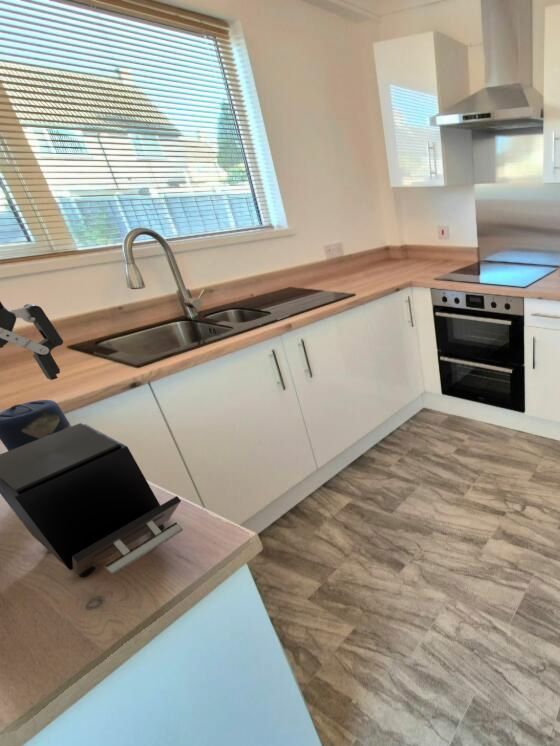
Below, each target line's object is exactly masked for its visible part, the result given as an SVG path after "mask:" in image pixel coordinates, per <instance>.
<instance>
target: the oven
mask: <svg viewBox="0 0 560 746" xmlns="http://www.w3.org/2000/svg"><path fill="white" fill-rule="evenodd" d="M0 496H1V497H2V498H3V500H4V501H5V502H6V503H7V505H8V507H10V509H11V510H12V511H13V512H14V513H15V515H16V517H18V519H19V520H20V521H21V523H22V524H23V526H24V527H25V528H26V530H27V531H28V532H29V533H30V535H31V536H32V537H33V538H35V539H36V540H37V541H38V542H39V543H40V544H41V545H42V547H44V548H45V549H46V550H47V551H48V552H49V553H50V554H52V556H54V557H55V558H56V559H57V560H58V561H59V562H60V563H61V564H62V565H63V566H64V567H65V568H66V569H67V570H68V571H73V561H72V556H73V555H75V554H77V553H78V552H80V551H82V550H84V549H85V548H87V547H89V546H91V545H92V544H94V543H96V542H98V541H99V540H101V539H103V538H105V537H106V536H108V535H110V534H112V533H113V532H115V531H117V530H119V529H120V528H122V527H124V526H125V525H127V524H129V523H131V522H132V521H134V520H136V519H138V518H139V517H141V516H143V515H145V514H146V513H148V512H150V511H152V510H153V509H155V508H157V507H159V506H160V505H161V504H160V502H159V500H158V499H157V497H156V495H155V493H154V491H153V489H152V488H151V486H150V485H149V482H148V481H147V479H146V477H145V475H144V474H143V472H142V470H141V468H140V466H139V465H138V463H137V461H136V459H135V457H134V455H133V454H132V451H131V450H130V447H128V446H127V445H126V444H124V443H122V442H120V441H118V440H116V439H115V438H113V437H111V436H109V435H107V434H105V433H103V432H101V431H99V430H98V429H95V428H94V427H92V426H90V425H89V424H87V423H85V424H84V423H82V422H79V423H77V424H74V425H71V427H69V428H66V429H64V430H61V431H59V432H56V433H54V434H51V435H48V436H46V437H43V438H41V439H38V440H36V441H33V442H30V443H28V444H25V445H23V446H20V447H18V448H15V449H13V450H10V451H8V450H7V451H5V452H3V453H0ZM158 528H159V529H160V530H161V531H163V530H164V529H165V523H163V524H162V525H160V526H159V527H158ZM149 533H150V534H153V533H152V532H151V531H150V532H149ZM95 571H96V567H95V565H94V566H92V567H91V568H89V569H87V570H86V571H84V572H83V573H81V574H79V575H78V577H79V578H82V579H83V578H86V577H89V576H90V575H92V574H93V573H94V572H95Z"/></svg>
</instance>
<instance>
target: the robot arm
mask: <svg viewBox="0 0 560 746" xmlns="http://www.w3.org/2000/svg"><path fill="white" fill-rule="evenodd" d="M17 319H22V320H23V321H24V322H25V323H26V322H27V323H28V324H29V323H30V324H33V325H34V327H35V328H36V330H37V331H38V333H39V334H40V335H41V336H42V338H43V339H42V340H41V341H39V342H36V341H34V340H31V339H29V338H27V337H25V336H22V335H19V334H17V333H16V332H13V330H14V328H15V325H16V322H17ZM8 343H12V344H14V345H16V346H19V347H21V348H23V349H26V350H29V351H30V352H33V354H32V356H33V359H34V360H35V361H36V363H37V365H38V366H39V368H40V370H41V372H42V373H43V374H44V376H45V377H46V378H47V379H48V380H50V381H53V380H56V379H59V378H58V375H59V374H61V370H60V367H59V366H58V364H57V362H56V361H55V360H56V359H54V357H53V355H52V354H51V352H52V351H53V350H54V349H55V348H57V347H58V346H59V347H60V346H62V345H63V344H64V339H63V338H62V337H61V335H60V334H59V332H58V330H57V328H55V326H54V324H53V323H52V321H51V320H50V319H49V317H48V316H47V314H46V313H45V311H44V309H43V308H42V307H41V306H40V305H35V304H32V303H27V304H24V305H23V307H19V308H16V309H12V310H9V309H8V308H6V307H5V305H4V304H3V303H2V301H1V300H0V349H3V348H4V346H6V345H7V344H8Z"/></svg>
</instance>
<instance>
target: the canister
mask: <svg viewBox="0 0 560 746" xmlns="http://www.w3.org/2000/svg"><path fill="white" fill-rule="evenodd" d="M71 426H72V424H71V422H70V421H69V420H68V418H67V417H66V415H65V414H64V412H63V410H62V408H61V407H60V405H59V404H58V403H57V402H56V401H55V400H51V399H37V400H31V401H28V402H24V403H20V404H15V405H12V406H11V407H8V408H6V409H4V410H2V411H0V441H1V443H2V444H3V446H4V447H5V448H6V449H7V451H10V450H13V449H15V448H18V447H20V446H23V445H25V444H28V443H30V442H33V441H36V440H38V439H41V438H43V437H46V436H48V435H51V434H54V433H56V432H59V431H61V430H64V429H66V428H69V427H71Z"/></svg>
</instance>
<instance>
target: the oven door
mask: <svg viewBox="0 0 560 746" xmlns="http://www.w3.org/2000/svg"><path fill="white" fill-rule="evenodd" d="M181 502H182V500H181V499H180V497H179V495H176V496H174V497H173V498H171V499H169V500H168V501H166V502H164V503H162V504H160V506H159V507H157V508H155V509H153V510H152V511H150V512H148V513H146V514H145V515H143V516H141V517H139V518H138V519H136V520H134V521H132V522H131V523H129V524H127V525H125V526H124V527H122V528H120V529H119V530H117V531H115V532H113V533H112V534H110V535H108V536H106V537H105V538H103V539H101V540H99V541H98V542H96V543H94V544H92V545H91V546H89V547H87V548H85V549H84V550H82V551H80V552H78V553H77V554H75V555H73V556H72V561H73V569H72V572H73V573H74V574H75V575H76V576H78V575H79V574H81V573H83V572H84V571H86V570H87V569H89V568H91V567H92V566H94V567H95V566H96V565H97V564H99V563H101V562H102V561H105V559H107V558H109V557H111V556H113V555H114V554H116V553H118V552H119V553H120V555H121V556H119V557H117V558H115V559H114V560H112V561H111V562H109V563H107V564H106V565H104V569H105V570H106V572H108V574H109V575H111V576H114V575H115V574H117V573H118V572H120V571H122V570H123V569H125V568H126V567H128V566H130V565H131V564H133V563H134V562H135V561H137V560H139V559H140V558H142V557H143V556H145V555H147V554H148V553H150V552H152V551H153V550H154V549H156V548H158V547H159V546H161V545H163V544H164V543H166V542H167V541H168V540H170V539H172V538H174V537H175V536H177V535H178V534H180V533H181V532H183V531H184V529H183V527H182V526H181V524H180V523H179V522H177V521H176V522H174V523H171V525H169V526H167V527H166V528H164V529H163V530H162V531H161V530H160V529H159V528H158V527H159V526H160V525H162V524H165V523H167V522H168V521H170V519H171V518H172V516H173V515H174V513H175V512H176V510H177V508H178V506H179V505H180V504H181ZM150 531H151V532H152V533H151V532H150ZM149 533H151V534H152V535H153V536H151V537H149V538H148V539H146V540H145V541H143V542H141V543H140V544H138V545H136V546H135V547H133V548H132V549H129V548H128V547H127V546H129V545H131V544H132V543H134V542H135V541H137V540H139V539H141V538H142V537H143V536H145V535H147V534H149ZM78 577H79V576H78Z"/></svg>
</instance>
